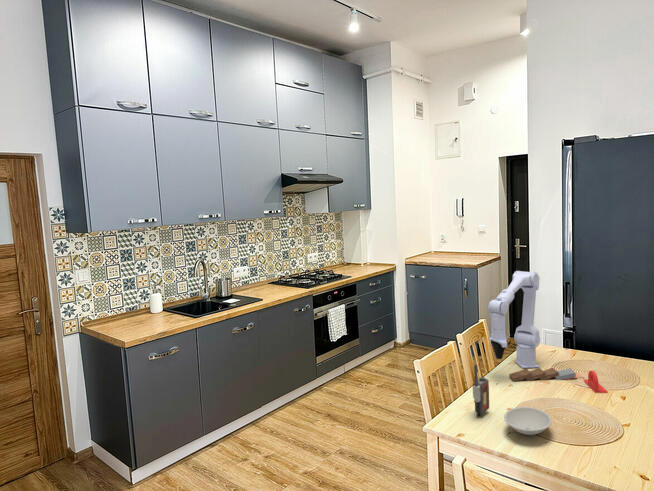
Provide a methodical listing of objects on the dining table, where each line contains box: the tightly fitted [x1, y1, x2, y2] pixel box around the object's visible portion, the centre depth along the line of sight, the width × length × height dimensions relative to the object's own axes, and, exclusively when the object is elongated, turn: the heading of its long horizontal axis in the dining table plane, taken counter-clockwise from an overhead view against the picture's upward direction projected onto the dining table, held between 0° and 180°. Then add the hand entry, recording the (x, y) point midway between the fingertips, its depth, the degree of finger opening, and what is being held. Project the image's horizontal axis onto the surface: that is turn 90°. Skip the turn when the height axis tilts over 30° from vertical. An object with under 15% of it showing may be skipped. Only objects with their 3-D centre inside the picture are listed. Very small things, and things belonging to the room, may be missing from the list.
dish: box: [503, 406, 553, 436], centre depth 149 cm, size 18×14×5 cm
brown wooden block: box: [508, 368, 532, 383], centre depth 192 cm, size 2×5×8 cm
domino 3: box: [565, 372, 585, 380], centre depth 191 cm, size 2×5×8 cm
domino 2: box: [538, 367, 559, 381], centre depth 192 cm, size 2×5×8 cm
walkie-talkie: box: [472, 364, 490, 418], centre depth 163 cm, size 9×4×20 cm, turn 135°
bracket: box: [582, 370, 609, 394], centre depth 180 cm, size 12×4×8 cm, turn 170°
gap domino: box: [553, 367, 576, 381], centre depth 190 cm, size 2×5×8 cm
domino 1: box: [524, 367, 546, 382], centre depth 192 cm, size 2×5×8 cm
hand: (499, 358), depth 192 cm, fingers closed
